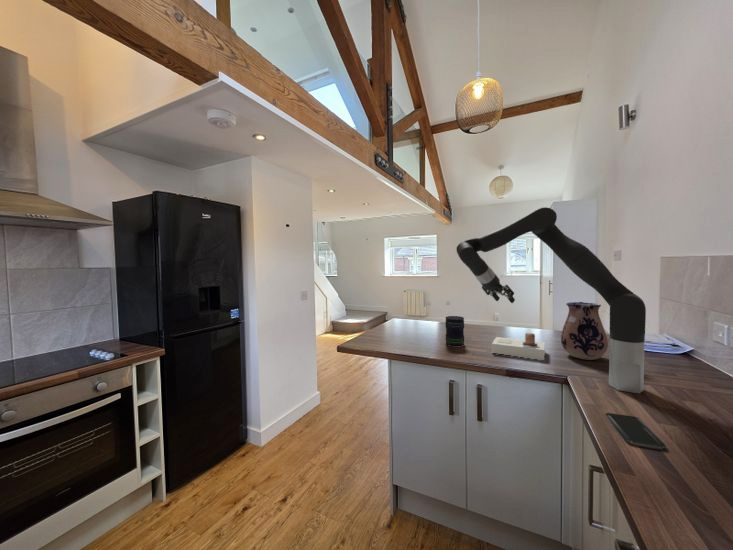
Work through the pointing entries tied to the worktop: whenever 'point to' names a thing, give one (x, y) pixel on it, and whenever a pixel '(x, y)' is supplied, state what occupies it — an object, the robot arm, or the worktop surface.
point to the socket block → (518, 348)
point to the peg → (529, 339)
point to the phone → (635, 431)
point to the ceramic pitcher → (584, 332)
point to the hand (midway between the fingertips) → (505, 300)
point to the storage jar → (454, 330)
